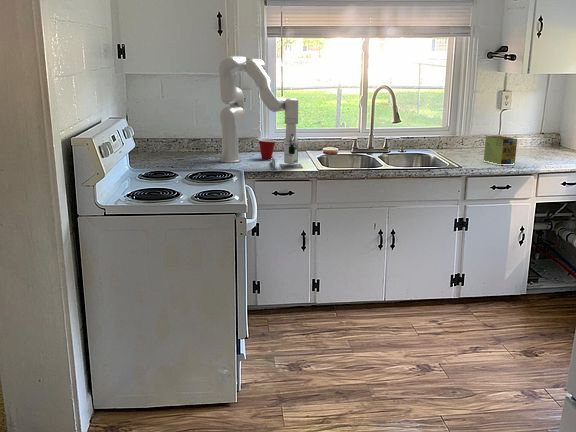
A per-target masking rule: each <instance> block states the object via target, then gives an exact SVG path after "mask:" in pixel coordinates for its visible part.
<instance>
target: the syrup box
mask: <svg viewBox="0 0 576 432" xmlns="http://www.w3.org/2000/svg"><path fill="white" fill-rule="evenodd" d="M290 141H291V140H290ZM298 142H299V138H298V136H297V137H296V141H295V140H294V147H295V154H289V141H288V142H287V141H286V137H283V157H284V158H283V159H284V160H283V164H299V160H298V159H299V155H298V154H299V152H298V151H299V146H298V145H299V143H298Z"/></svg>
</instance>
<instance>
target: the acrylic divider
mask: <svg viewBox="0 0 576 432" xmlns="http://www.w3.org/2000/svg"><path fill="white" fill-rule="evenodd" d="M269 165H272V166H271V170H272V171H278V167H276V159H275V157H274V155H273V154H272V159H271V161H269Z"/></svg>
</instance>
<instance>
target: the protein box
mask: <svg viewBox="0 0 576 432" xmlns="http://www.w3.org/2000/svg"><path fill="white" fill-rule="evenodd" d="M517 146H518V138H514V137H508V136H502V135H490V136H485V142H484V150H483V151H484V153H483V160H485V161H489V162H493V163H497V164H513V163H516V154H517Z"/></svg>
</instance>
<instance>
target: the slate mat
mask: <svg viewBox="0 0 576 432" xmlns="http://www.w3.org/2000/svg"><path fill="white" fill-rule="evenodd" d="M279 166H280V169H304V167H303V166H302V164H301V163H294V164H287V163H279Z"/></svg>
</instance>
